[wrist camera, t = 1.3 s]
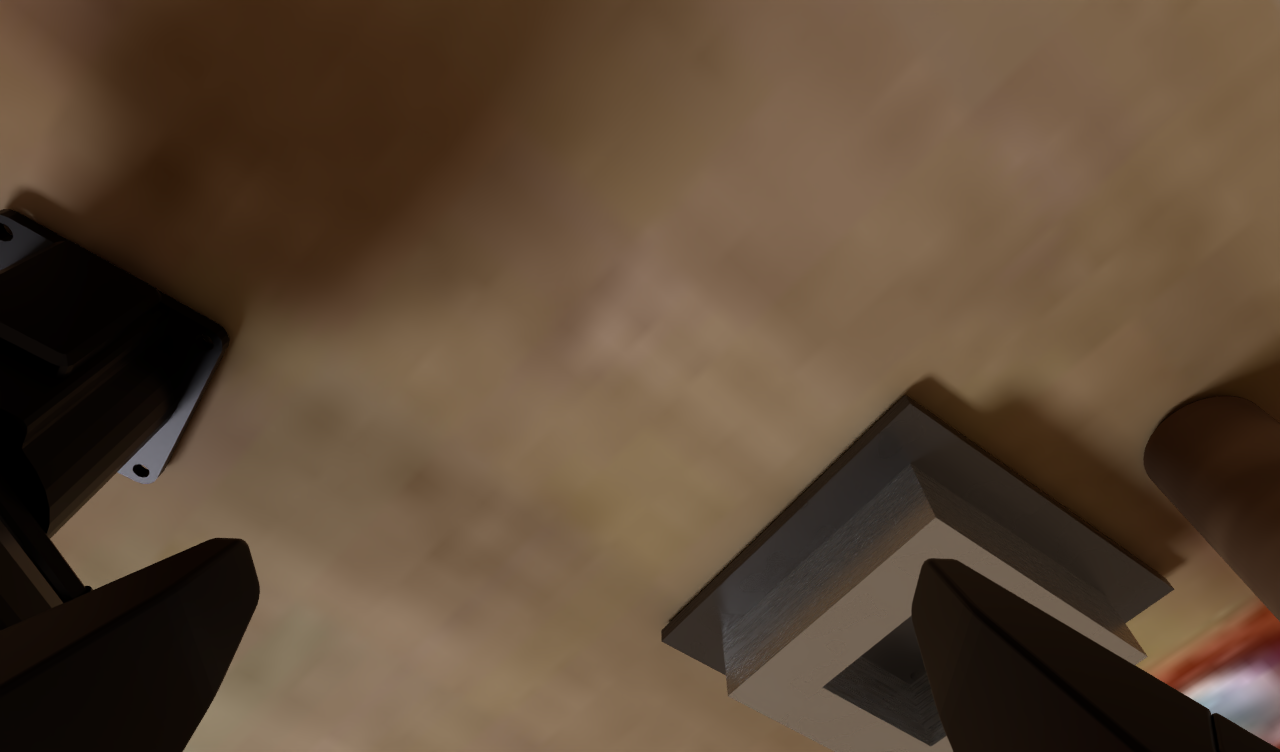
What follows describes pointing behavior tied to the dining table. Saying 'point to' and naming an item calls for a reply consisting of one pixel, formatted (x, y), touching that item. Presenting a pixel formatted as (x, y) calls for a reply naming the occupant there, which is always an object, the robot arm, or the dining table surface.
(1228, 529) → the walnut peg
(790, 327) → the dining table surface
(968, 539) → the steel socket
